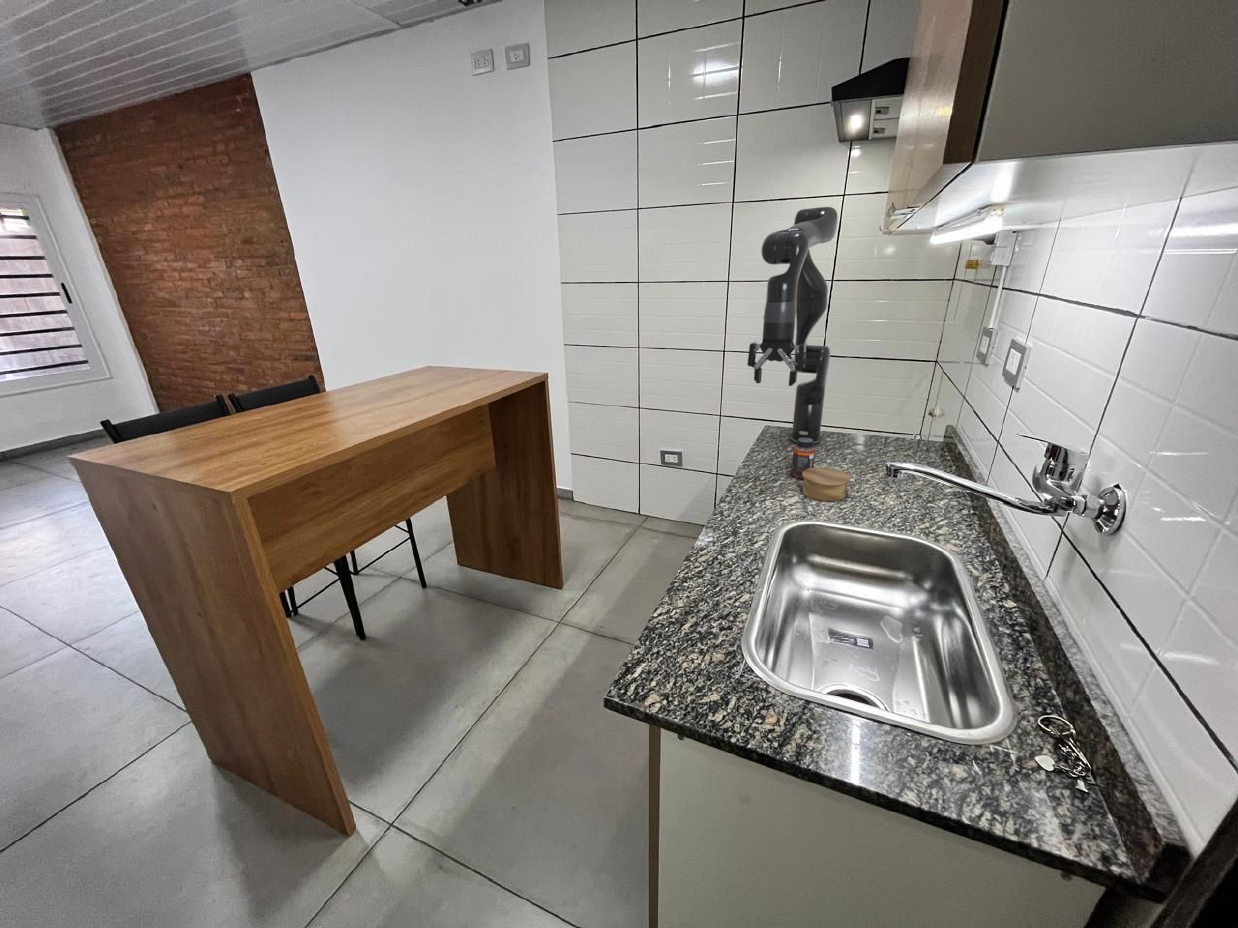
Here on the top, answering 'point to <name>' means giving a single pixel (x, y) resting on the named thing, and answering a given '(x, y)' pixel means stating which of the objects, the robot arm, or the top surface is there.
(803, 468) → the supplement bottle
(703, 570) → the top surface
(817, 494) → the stand
